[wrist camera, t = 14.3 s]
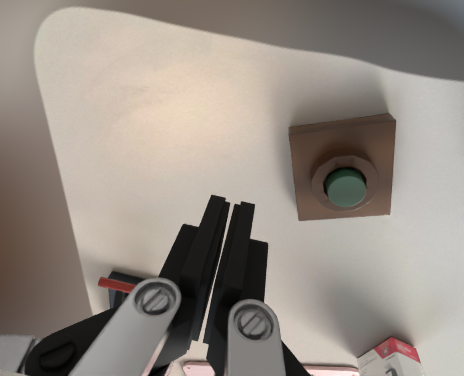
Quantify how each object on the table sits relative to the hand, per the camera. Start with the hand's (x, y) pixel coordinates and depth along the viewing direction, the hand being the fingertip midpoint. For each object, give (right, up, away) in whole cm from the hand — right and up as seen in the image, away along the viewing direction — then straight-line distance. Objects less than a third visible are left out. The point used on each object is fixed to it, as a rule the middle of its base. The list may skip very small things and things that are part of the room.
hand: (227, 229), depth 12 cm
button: (+12, +2, +20) cm, 23 cm away
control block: (+12, +4, +23) cm, 26 cm away
